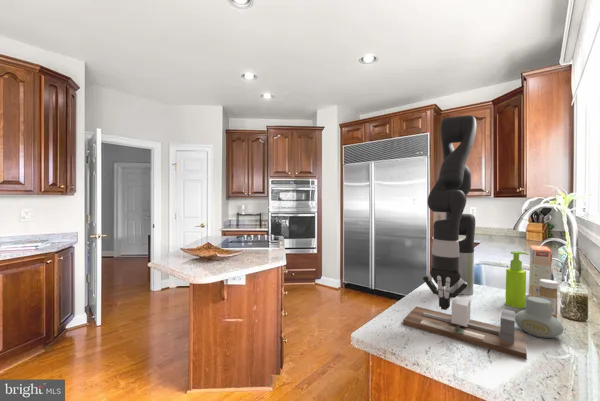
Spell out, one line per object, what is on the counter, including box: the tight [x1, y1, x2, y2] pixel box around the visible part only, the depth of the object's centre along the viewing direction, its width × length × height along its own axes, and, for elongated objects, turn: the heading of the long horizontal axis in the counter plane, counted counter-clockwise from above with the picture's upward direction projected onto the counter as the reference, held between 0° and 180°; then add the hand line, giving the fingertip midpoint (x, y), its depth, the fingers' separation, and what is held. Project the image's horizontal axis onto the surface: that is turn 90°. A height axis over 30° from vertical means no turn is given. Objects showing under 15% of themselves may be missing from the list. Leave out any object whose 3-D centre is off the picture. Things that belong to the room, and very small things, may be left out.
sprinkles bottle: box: [539, 279, 559, 320], centre depth 91 cm, size 5×5×14 cm
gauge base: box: [402, 306, 528, 360], centre depth 84 cm, size 14×30×8 cm, turn 52°
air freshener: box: [515, 296, 564, 339], centre depth 83 cm, size 11×8×10 cm
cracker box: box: [528, 244, 553, 298], centre depth 110 cm, size 14×6×21 cm, turn 143°
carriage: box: [451, 296, 472, 331], centre depth 83 cm, size 11×4×6 cm, turn 142°
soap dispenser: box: [505, 251, 530, 309], centre depth 105 cm, size 6×7×20 cm
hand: (444, 308), depth 88 cm, fingers closed
